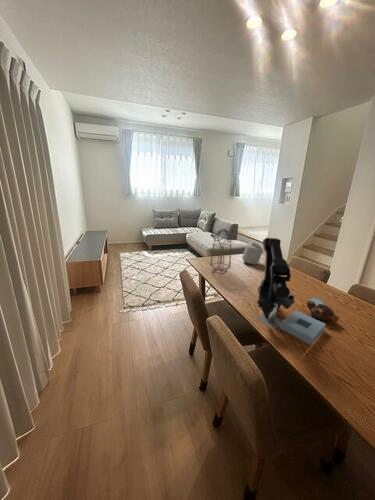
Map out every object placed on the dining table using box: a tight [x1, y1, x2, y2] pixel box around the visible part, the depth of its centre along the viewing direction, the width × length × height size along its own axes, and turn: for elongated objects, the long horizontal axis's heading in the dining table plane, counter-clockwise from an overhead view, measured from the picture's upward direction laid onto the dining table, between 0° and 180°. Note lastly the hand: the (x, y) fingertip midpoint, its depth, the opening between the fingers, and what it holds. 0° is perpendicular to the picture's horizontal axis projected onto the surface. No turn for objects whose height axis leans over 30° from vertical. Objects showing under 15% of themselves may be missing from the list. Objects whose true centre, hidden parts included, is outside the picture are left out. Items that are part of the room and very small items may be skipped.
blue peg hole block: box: [279, 310, 327, 346], centre depth 98 cm, size 14×16×4 cm
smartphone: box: [308, 297, 327, 306], centre depth 120 cm, size 7×1×15 cm
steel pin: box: [266, 303, 278, 323], centre depth 103 cm, size 4×4×10 cm
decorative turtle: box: [306, 300, 340, 323], centre depth 107 cm, size 10×15×8 cm, turn 51°
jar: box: [241, 241, 264, 266], centre depth 182 cm, size 19×15×25 cm
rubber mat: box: [256, 314, 283, 330], centre depth 104 cm, size 10×10×1 cm
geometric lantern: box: [209, 228, 237, 274], centre depth 161 cm, size 16×16×35 cm
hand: (271, 315), depth 103 cm, fingers open, 9 cm apart
